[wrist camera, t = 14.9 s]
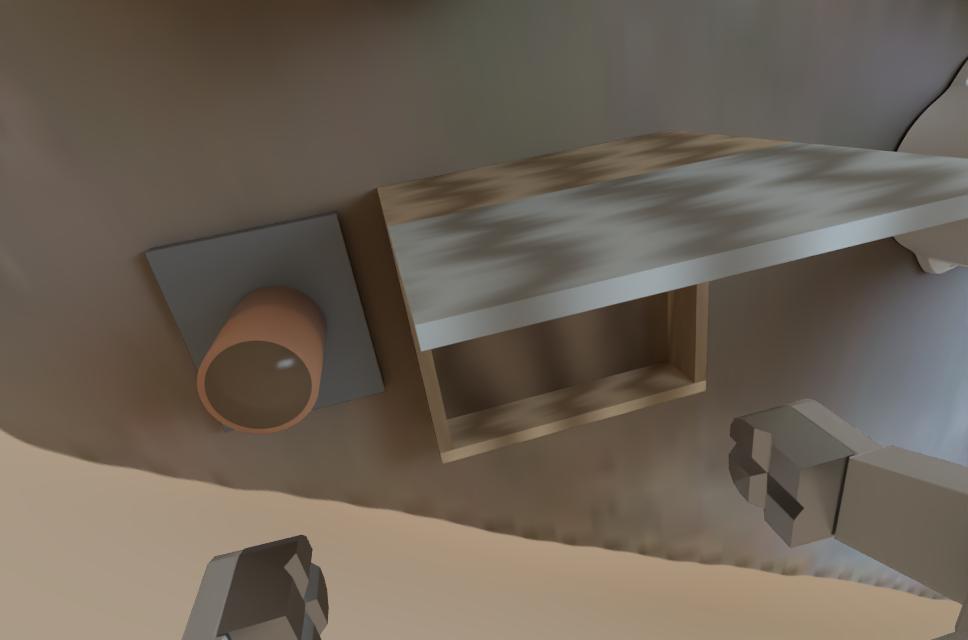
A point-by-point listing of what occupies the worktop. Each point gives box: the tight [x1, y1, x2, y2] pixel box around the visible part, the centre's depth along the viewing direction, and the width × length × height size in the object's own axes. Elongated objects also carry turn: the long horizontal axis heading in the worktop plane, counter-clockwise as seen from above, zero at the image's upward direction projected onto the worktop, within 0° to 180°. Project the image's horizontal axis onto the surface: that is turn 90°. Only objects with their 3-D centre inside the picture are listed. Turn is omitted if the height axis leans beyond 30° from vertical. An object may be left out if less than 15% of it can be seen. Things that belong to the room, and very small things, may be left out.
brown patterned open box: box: [377, 130, 968, 464], centre depth 30 cm, size 22×20×24 cm
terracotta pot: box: [197, 286, 327, 434], centre depth 33 cm, size 6×6×8 cm
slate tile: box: [145, 211, 385, 432], centre depth 37 cm, size 12×14×1 cm
